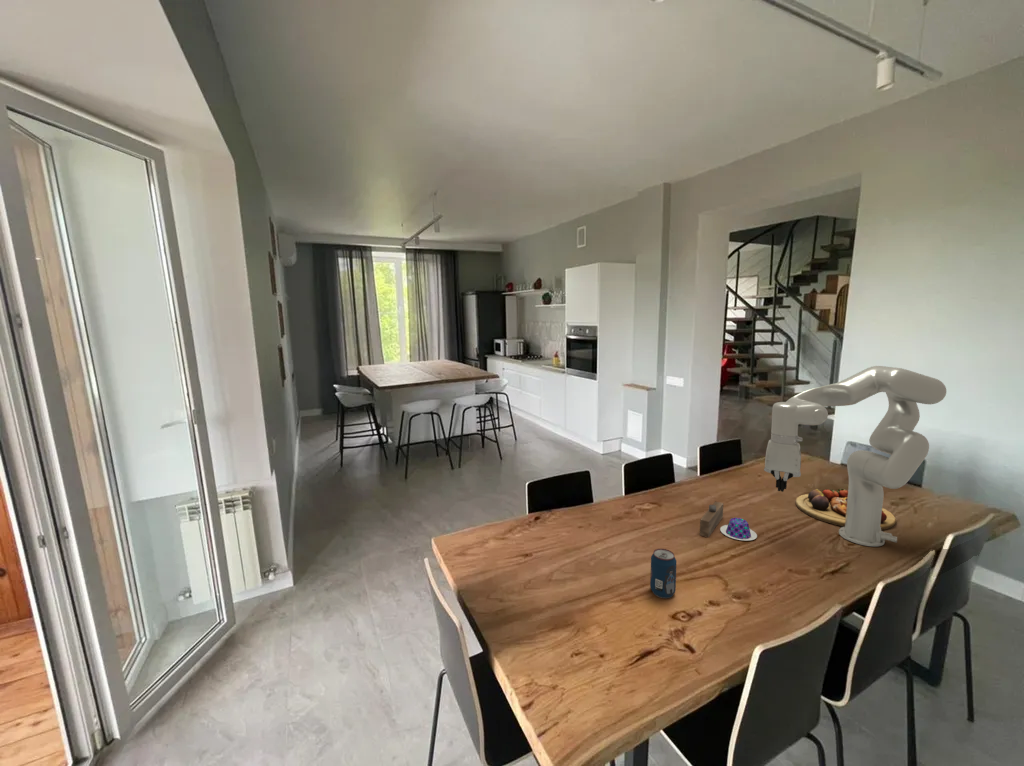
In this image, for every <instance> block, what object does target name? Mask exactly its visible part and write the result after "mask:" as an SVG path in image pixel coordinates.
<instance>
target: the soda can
mask: <svg viewBox="0 0 1024 766" xmlns="http://www.w3.org/2000/svg"><path fill="white" fill-rule="evenodd" d="M650 556H651V557H650V581H649V582H650V583H649V587H650V590H651V591H652V593H653V594H654V595H655V596H656V597H658V598H661V599H670V598H672V597H673V596H674V594H675V593H676V590H677V589H676V587H677V586H676V585H677V559H676V556H675V553H674V552H673V551H671V550H669V549H667V548H657V549H654V550H653V553H652V555H650Z"/></svg>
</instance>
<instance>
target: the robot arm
mask: <svg viewBox="0 0 1024 766" xmlns="http://www.w3.org/2000/svg"><path fill="white" fill-rule="evenodd" d="M879 393H885V394H886V397H887V400H888V409H887V411H886V412H885V415H884V416H883V418H881V420H880V421H879V423H878V425H877V426H876V427H875V429H874V430H873V432H871V435H870V436H869V444H870V446H871V447H872V448H873V449H875V450H877V451H879V452H881V453H884V454H887V455H890V456H889V457H888V456H885V455H882V454H880V453H877V452H874V451H870V450H864V449H860V450H855V451H853V452H852V453H851V454H849V456H848V458H847V461H846V467H847V469H846V470H847V474H848V490H847V491H848V498H847V508H846V519H845V527H844V526H841V527H840V528H839V529H838V535H840V536H841V537H842V538H843V539H845V540H847V541H849V542H851V543H855V544H857V545H861V546H865V547H874V548H877V547H882V546H884V545H885V542H886V541H889V542H893V543H898V536H896V535H895V536H894V535H893V533H890V532H885V531H884V530H881V527H880V524H881V514H882V508H883V505H884V504H883V503H884V497H885V495H884V488H887V489H891V490H896V489H899V488H902V487H904V486H905V485H906V484H907V483H908V482H909V481H910V479H911V478H912V477H913V476H914V474H915V473H916V471H917V470H918V468H919V467H920V466H921V464H922V463H923V461H925V459H926V457H927V455H928V454H929V452H930V451H929V449H930V442H929V440H928V438H927V437H926V436H925V435H923V434H922V433H920V432H917V431H914V430H915V428H916V427H917V425H918V423H919V421H920V418H921V417H920V408H919V406H918V404H922V405H934V404H938V403H940V402H942V401H943V400H944V399H945V397H946V395H947V387H946V385H945V384H944V382H942V381H941V380H940V379H937V378H935V377H931V376H928V375H924V374H921V373H918V372H916V371H912V370H909V369H907V368H906V369H905V368H902V367H892V366H885V365H873V366H870V367H867V368H865V369H864V370H861V371H858V372H857V373H855V374H853V375H851V376H849V377H847V378H845V379H842V380H840V381H838V382H835V383H830V384H826V385H823V386H818V387H813V388H810V389H807V390H803V391H802V392H799V393H797V394H796V395H794V396H792V397H790V398H788V400H786V401H779V402H778V401H777V402H774V403H773V405H772V411H771V412H772V414H771V431H770V435H771V436H770V439H769V440H768V442H767V447H766V450H765V458H764V469H763V471H764V472H766V473H768V474H771V475H772V476H773V477H774V479H775V488H777V491H778V492H782V493H783V492H784V491H785V490H787V485H788V480H789V479H792V478H799V477H802V476H801V467H802V466H801V465H802V452H801V451H802V450H801V445H800V443H799V442H803V437H802V436H799V435H798V434H799V433H798V431H799V425H805V426H818V425H819V426H820V425H821V424H823V423H825V422H826V421H827V419H828V417H829V414H828V413H829V412H828V410H827V408H826V407H847V406H853V405H856V404H858V403H860V402H862V401H863V400H866V399H868V398H870V397H873V396H874V395H876V394H879ZM917 403H918V404H917ZM781 473H784V474H783V477H782V476H781ZM883 487H884V488H883Z"/></svg>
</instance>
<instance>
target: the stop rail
mask: <svg viewBox="0 0 1024 766" xmlns="http://www.w3.org/2000/svg"><path fill="white" fill-rule="evenodd" d="M723 517H724V502H720V501H714V502H713V504H709V505H708V510H707V511H706V512H705V513H704V514H703V516H702V517H701V518H700V521H699V536H703V537H704V538H705V537H706V538H710V536H711V535H712V534H713V532H714V530H715V529H716V528H717V527H718V525H719V523H720V522H721V521H722V519H723Z"/></svg>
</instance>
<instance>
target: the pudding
mask: <svg viewBox="0 0 1024 766" xmlns="http://www.w3.org/2000/svg"><path fill="white" fill-rule="evenodd" d="M719 530H720V532H721V534H723V535H725V536H726V537H728V538H730V539H734V540H736V541H737V540H739V541H746V542H747V541H753V540H754V541H755V539H757V538H758V534H757V532H755V530H752V529H751V528H750V525H749V523H748V521H747V520H746V519H743V518H741V517H733V518H730V519H729V520H728V524H724V525H722V526H720V528H719Z"/></svg>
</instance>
